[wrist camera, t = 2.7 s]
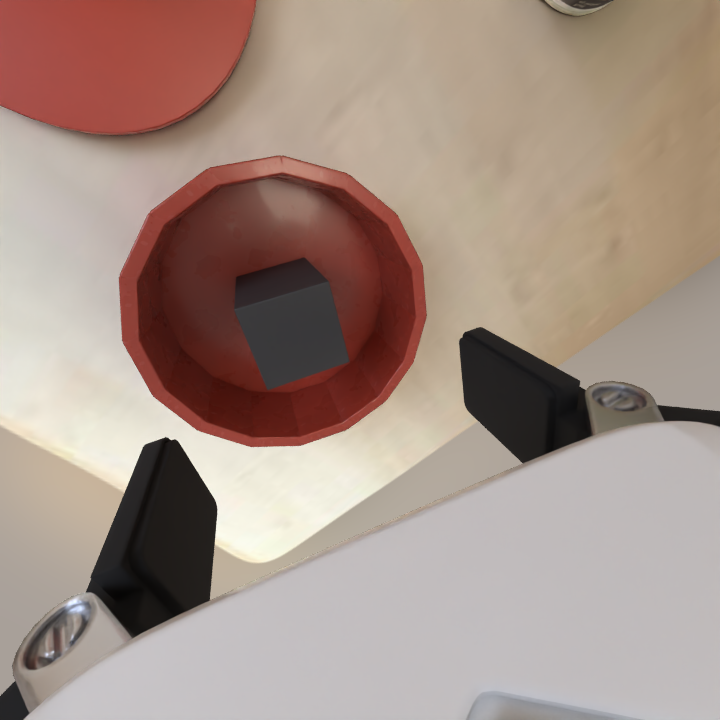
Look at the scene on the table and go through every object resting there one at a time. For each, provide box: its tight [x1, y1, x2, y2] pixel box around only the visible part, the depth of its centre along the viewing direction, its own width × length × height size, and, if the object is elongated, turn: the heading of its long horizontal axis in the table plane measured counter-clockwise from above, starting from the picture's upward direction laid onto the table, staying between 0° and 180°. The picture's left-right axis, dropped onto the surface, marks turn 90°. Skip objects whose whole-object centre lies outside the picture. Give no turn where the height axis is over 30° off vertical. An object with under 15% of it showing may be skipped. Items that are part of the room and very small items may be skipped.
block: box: [234, 258, 350, 390], centre depth 20 cm, size 4×4×7 cm
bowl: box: [119, 155, 427, 447], centre depth 21 cm, size 15×15×6 cm
